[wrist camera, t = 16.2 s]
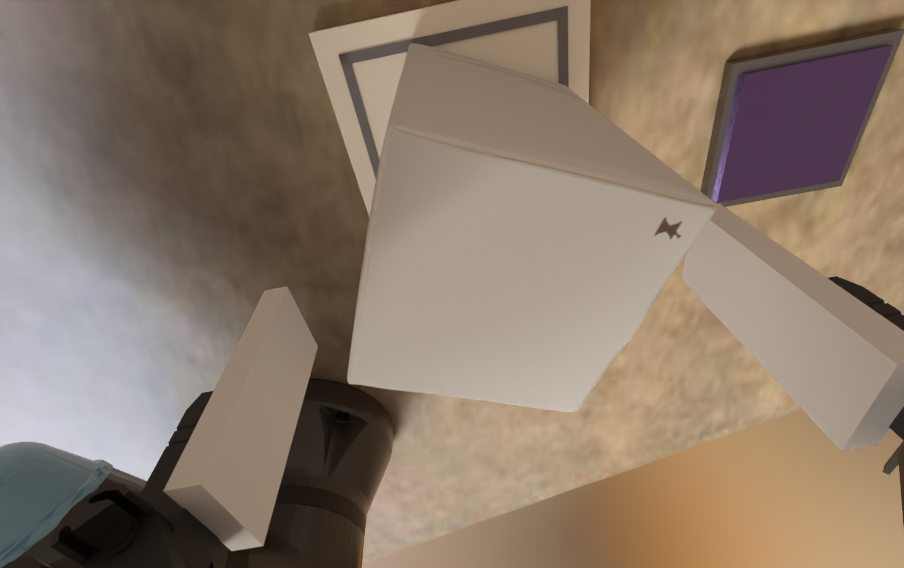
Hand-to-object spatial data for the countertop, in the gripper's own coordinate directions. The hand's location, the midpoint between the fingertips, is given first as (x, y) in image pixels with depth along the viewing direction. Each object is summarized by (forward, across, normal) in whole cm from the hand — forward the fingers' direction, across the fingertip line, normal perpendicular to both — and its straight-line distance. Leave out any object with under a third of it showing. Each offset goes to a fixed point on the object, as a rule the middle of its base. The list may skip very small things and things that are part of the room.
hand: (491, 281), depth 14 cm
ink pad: (+14, +20, -3) cm, 25 cm away
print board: (+14, +1, 0) cm, 14 cm away
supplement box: (+13, +1, 0) cm, 13 cm away
